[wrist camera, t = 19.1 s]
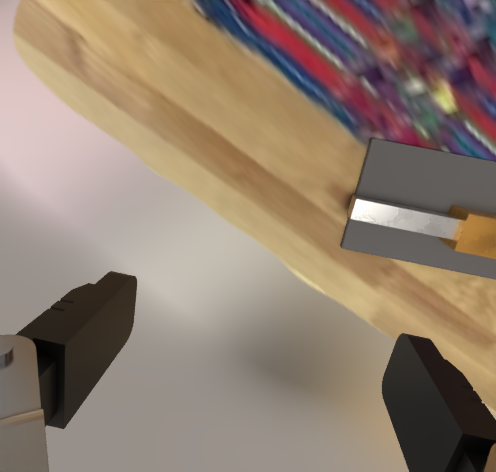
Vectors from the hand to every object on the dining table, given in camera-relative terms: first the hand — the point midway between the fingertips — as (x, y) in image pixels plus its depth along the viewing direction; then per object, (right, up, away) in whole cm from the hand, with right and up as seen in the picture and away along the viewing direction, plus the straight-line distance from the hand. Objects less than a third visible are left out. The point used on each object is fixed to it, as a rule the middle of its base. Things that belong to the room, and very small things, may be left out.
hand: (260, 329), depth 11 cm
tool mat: (+26, +6, +34) cm, 43 cm away
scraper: (+23, +5, +33) cm, 41 cm away
